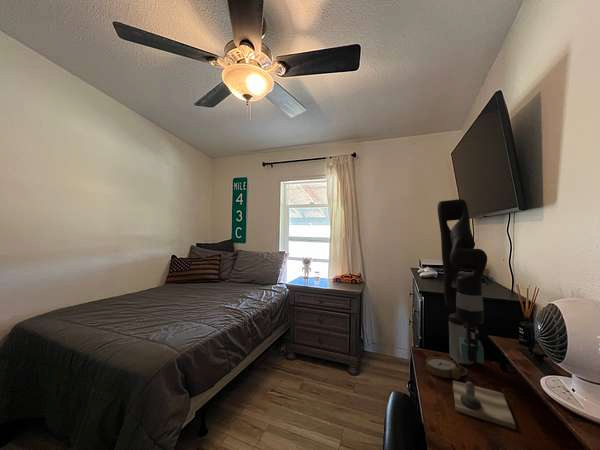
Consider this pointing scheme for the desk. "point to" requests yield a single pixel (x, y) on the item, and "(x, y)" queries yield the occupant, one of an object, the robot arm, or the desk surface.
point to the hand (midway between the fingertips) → (471, 356)
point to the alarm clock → (445, 367)
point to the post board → (482, 404)
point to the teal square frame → (465, 350)
